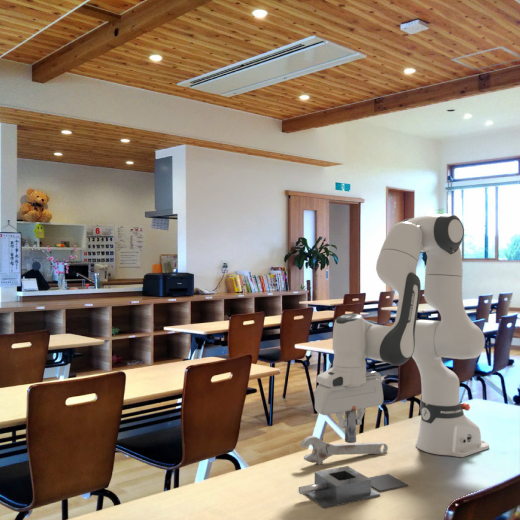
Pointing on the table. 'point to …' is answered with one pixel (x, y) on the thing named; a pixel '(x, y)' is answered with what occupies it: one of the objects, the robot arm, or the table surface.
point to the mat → (386, 482)
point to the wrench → (338, 449)
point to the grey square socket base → (339, 487)
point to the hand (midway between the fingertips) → (350, 425)
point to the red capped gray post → (350, 425)
